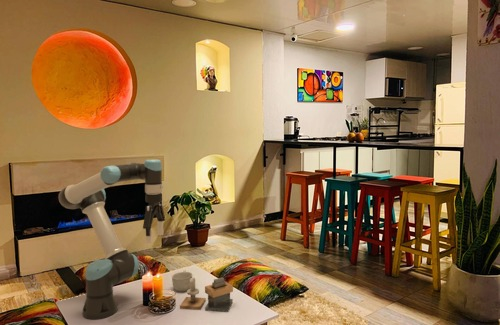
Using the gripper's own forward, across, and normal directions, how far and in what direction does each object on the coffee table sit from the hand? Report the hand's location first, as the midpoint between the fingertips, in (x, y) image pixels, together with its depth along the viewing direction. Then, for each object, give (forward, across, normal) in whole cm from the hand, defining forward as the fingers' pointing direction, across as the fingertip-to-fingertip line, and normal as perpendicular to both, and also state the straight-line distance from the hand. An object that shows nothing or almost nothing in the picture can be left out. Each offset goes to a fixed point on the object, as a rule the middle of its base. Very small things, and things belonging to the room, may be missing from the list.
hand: (154, 238), depth 179 cm
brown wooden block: (+28, +9, -28) cm, 40 cm away
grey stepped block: (+35, +9, -28) cm, 45 cm away
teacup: (+35, +28, -4) cm, 45 cm away
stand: (+35, +9, -15) cm, 39 cm away
